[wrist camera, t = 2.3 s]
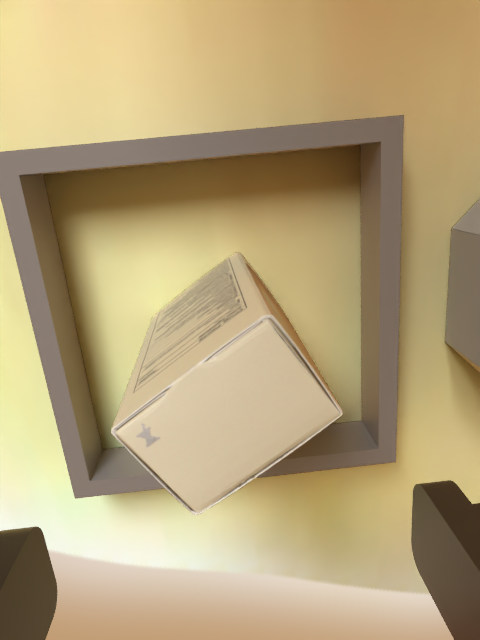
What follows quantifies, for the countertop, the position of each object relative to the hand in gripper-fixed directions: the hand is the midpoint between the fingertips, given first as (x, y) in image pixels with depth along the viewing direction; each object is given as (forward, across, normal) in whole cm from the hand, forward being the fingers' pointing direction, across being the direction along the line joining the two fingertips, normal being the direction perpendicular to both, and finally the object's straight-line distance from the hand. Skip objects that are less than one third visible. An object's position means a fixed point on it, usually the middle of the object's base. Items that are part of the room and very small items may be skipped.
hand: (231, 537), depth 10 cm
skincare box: (+17, 0, 0) cm, 17 cm away
